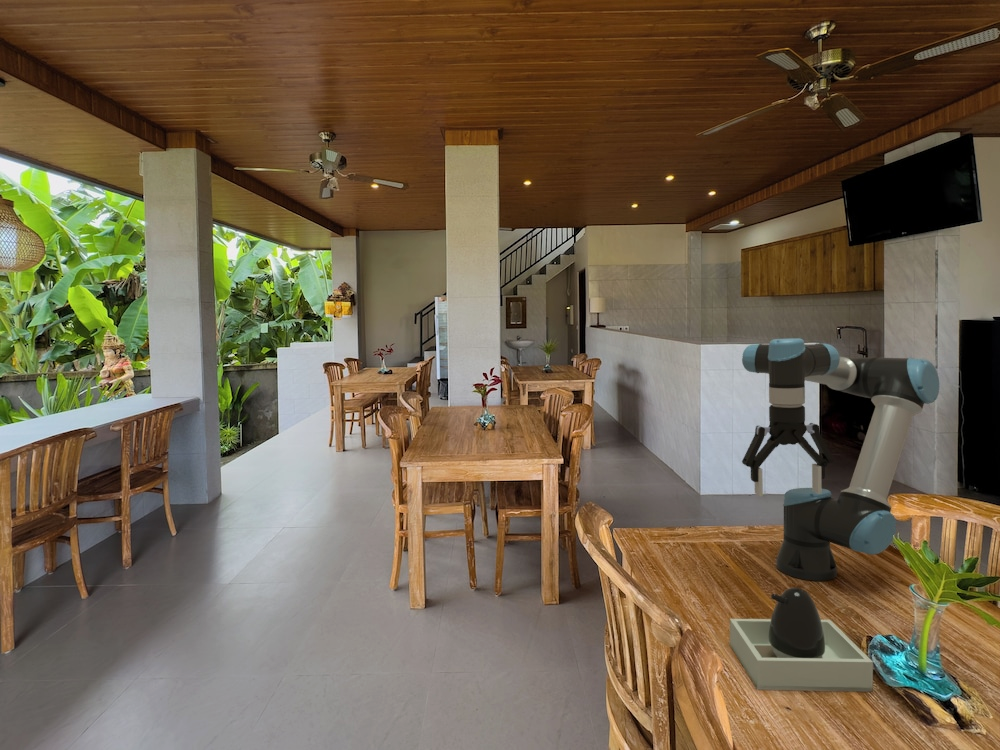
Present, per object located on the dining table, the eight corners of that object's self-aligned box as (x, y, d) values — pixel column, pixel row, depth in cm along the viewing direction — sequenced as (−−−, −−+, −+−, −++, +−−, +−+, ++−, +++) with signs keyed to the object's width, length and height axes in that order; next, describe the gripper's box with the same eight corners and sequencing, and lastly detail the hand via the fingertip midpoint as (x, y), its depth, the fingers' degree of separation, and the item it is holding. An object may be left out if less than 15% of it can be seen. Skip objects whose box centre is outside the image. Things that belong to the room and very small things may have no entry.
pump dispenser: (757, 649, 122) (758, 579, 121) (804, 646, 123) (805, 576, 121) (785, 678, 112) (786, 602, 110) (836, 674, 112) (837, 598, 111)
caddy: (829, 645, 124) (830, 619, 124) (872, 691, 108) (873, 662, 108) (729, 644, 126) (729, 618, 125) (757, 689, 110) (757, 660, 109)
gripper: (832, 399, 138) (832, 486, 140) (727, 405, 139) (728, 491, 141) (850, 404, 131) (850, 495, 133) (739, 409, 132) (740, 500, 133)
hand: (787, 493), depth 137 cm, fingers open, 13 cm apart
